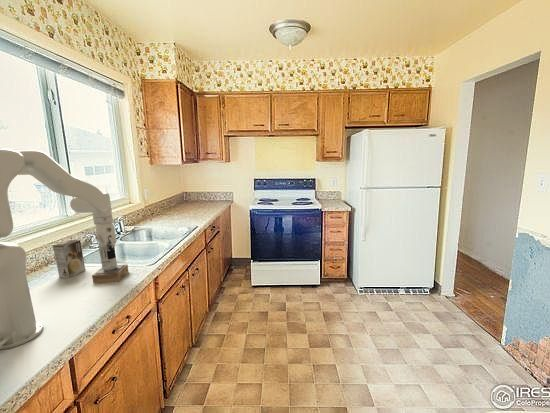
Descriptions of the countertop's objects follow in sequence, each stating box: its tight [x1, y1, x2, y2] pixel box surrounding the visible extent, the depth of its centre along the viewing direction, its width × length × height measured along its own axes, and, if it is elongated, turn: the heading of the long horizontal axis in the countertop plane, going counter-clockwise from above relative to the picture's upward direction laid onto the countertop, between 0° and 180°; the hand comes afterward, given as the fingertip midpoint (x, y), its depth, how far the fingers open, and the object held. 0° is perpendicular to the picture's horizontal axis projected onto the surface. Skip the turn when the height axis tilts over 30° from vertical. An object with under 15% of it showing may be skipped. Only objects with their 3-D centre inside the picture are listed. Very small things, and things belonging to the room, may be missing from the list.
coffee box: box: [52, 239, 86, 279], centre depth 136 cm, size 9×6×16 cm
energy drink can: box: [97, 239, 118, 271], centre depth 129 cm, size 6×6×15 cm
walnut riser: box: [91, 263, 129, 284], centre depth 131 cm, size 11×11×4 cm
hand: (108, 256), depth 129 cm, fingers open, 7 cm apart
